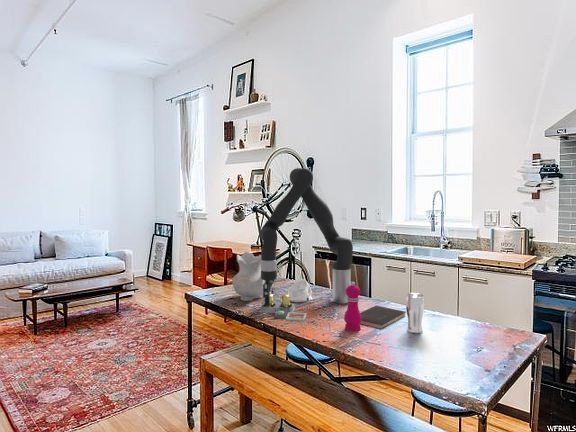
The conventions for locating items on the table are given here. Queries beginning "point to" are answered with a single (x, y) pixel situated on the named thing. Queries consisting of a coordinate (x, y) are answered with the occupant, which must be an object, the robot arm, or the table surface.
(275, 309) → the tray
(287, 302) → the billet
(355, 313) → the pepper mill
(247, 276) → the ceramic pitcher
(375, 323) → the hardcover book
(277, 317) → the console
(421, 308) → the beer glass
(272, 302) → the billet
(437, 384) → the table surface
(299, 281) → the skull bowl
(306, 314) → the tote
